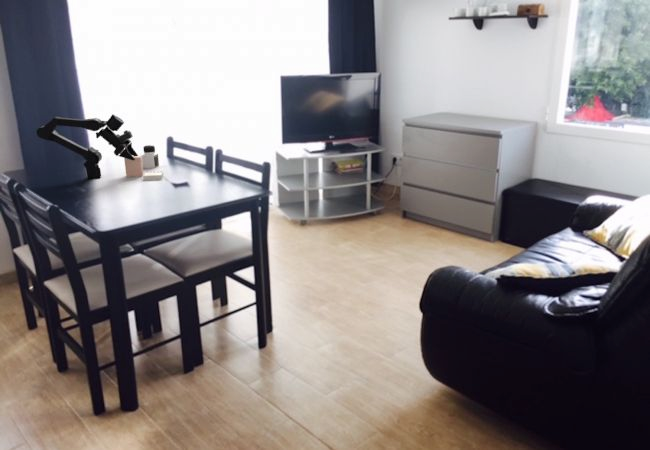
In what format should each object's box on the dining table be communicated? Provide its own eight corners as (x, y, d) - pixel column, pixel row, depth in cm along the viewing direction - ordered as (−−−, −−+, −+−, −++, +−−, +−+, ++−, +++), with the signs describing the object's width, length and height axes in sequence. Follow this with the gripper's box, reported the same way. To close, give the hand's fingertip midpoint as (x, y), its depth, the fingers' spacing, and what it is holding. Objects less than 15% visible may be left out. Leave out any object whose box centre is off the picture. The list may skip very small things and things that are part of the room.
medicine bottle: (155, 168, 314) (153, 146, 311) (142, 168, 315) (140, 146, 311) (159, 165, 321) (157, 144, 317) (146, 165, 321) (144, 144, 318)
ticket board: (143, 180, 287) (143, 175, 287) (146, 176, 295) (145, 171, 294) (161, 179, 289) (161, 174, 288) (163, 176, 296) (163, 171, 295)
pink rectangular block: (126, 176, 294) (124, 157, 291) (127, 175, 298) (125, 156, 294) (142, 176, 295) (140, 157, 292) (143, 174, 299) (141, 155, 296)
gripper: (117, 129, 279) (143, 150, 284) (124, 123, 296) (148, 143, 301) (103, 145, 280) (128, 166, 285) (111, 138, 298) (135, 158, 303)
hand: (135, 158), depth 293 cm, fingers open, 9 cm apart
